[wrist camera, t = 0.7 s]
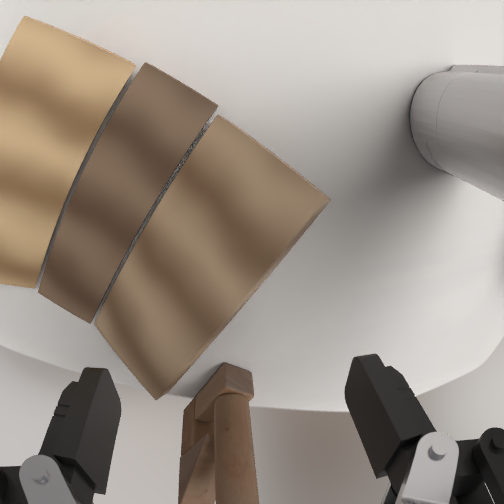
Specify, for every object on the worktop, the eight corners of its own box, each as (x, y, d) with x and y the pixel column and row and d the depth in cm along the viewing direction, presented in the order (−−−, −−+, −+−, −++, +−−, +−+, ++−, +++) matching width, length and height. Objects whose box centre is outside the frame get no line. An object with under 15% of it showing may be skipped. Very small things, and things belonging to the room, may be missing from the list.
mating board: (151, 65, 20) (145, 62, 18) (218, 105, 22) (217, 106, 20) (46, 281, 27) (37, 292, 25) (96, 311, 29) (90, 323, 27)
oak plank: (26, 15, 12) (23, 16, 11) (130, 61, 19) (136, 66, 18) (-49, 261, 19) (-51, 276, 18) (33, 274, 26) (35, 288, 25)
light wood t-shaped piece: (182, 409, 36) (176, 541, 20) (223, 360, 33) (230, 524, 17) (208, 417, 38) (210, 545, 22) (253, 371, 34) (272, 526, 18)
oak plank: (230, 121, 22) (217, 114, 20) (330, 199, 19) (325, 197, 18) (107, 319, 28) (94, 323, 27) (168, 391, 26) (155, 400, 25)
